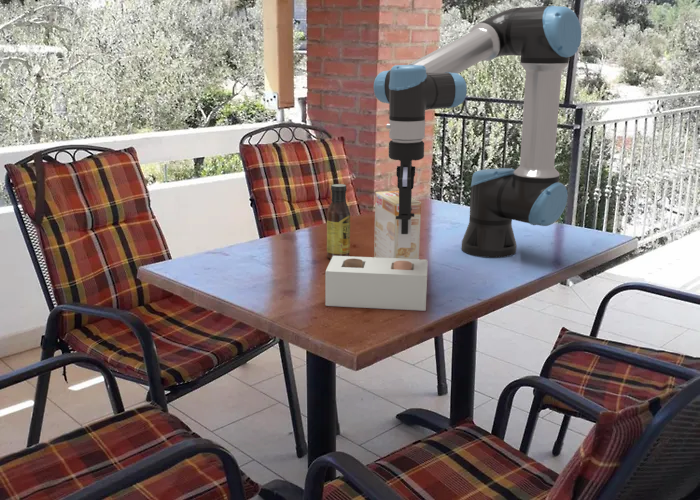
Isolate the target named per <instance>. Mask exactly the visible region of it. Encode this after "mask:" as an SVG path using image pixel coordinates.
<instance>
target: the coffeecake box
mask: <svg viewBox="0 0 700 500" xmlns="http://www.w3.org/2000/svg"><path fill="white" fill-rule="evenodd" d="M374 195H375V197H374V198H375V203H374V204H375V205H374V206H375V207H374V242H373V243H374V247H373V251H374V252H373V254H374V255H373V257H377V258H401V259H420V243H421V242H420V241H421V221H422V220H421V219H422V218H421V217H422V216H421V215H422V213H421V212H422V202H421V201H419V200H418V199H415V198H414V197H411V208H412V210H411V213H414V217H411V248H398V235H399V219H396V216H398V215H399V190H390V191H389V190H388V191H375V194H374Z"/></svg>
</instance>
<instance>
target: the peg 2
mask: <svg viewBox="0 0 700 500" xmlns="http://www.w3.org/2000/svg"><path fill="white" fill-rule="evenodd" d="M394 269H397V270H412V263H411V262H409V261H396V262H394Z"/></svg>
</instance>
